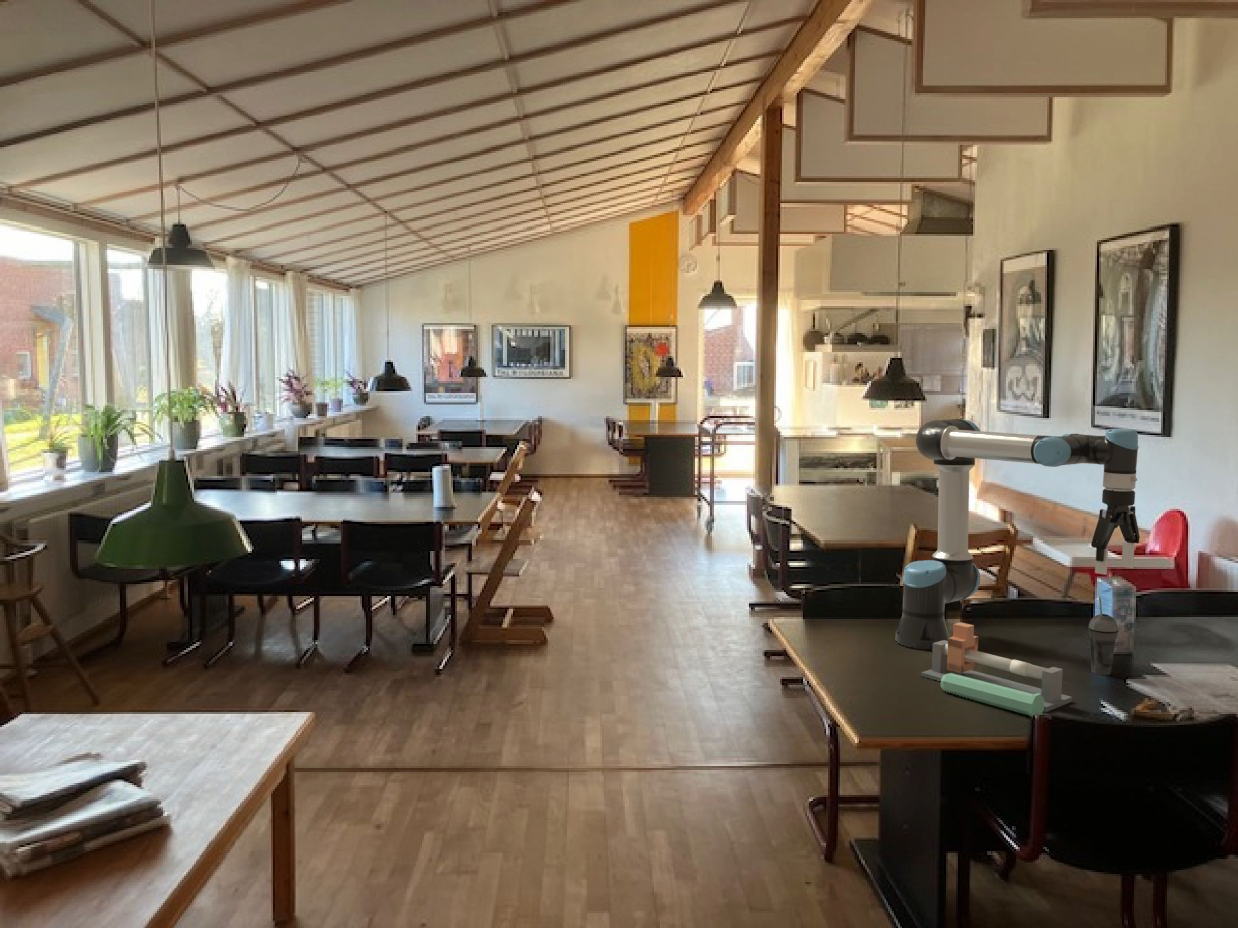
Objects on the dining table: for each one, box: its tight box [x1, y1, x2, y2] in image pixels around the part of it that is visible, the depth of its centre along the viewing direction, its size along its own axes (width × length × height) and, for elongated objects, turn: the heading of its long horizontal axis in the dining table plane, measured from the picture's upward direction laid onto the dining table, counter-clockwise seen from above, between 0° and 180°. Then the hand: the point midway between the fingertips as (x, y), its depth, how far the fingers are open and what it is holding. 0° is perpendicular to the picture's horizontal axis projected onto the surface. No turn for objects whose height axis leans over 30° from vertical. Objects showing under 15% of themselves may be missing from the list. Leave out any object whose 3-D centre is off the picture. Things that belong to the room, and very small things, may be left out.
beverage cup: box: [1087, 597, 1119, 676], centre depth 265 cm, size 7×7×20 cm
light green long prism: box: [940, 673, 1044, 717], centre depth 242 cm, size 6×6×25 cm
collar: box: [947, 622, 979, 673], centre depth 258 cm, size 4×7×12 cm, turn 129°
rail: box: [920, 640, 1073, 713], centre depth 252 cm, size 34×12×9 cm, turn 39°
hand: (1114, 570), depth 261 cm, fingers open, 13 cm apart
